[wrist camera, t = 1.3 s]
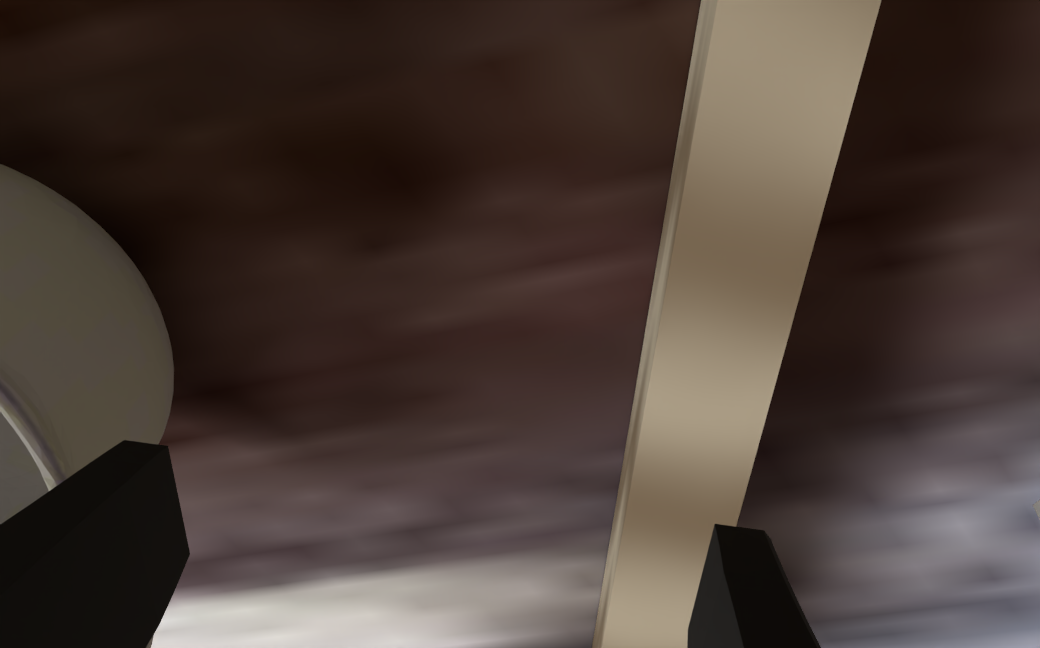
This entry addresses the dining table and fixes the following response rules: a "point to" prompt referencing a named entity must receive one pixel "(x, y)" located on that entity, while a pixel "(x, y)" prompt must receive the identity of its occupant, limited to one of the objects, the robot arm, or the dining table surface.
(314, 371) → the dining table surface
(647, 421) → the bar
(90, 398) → the teacup
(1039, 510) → the grey block
